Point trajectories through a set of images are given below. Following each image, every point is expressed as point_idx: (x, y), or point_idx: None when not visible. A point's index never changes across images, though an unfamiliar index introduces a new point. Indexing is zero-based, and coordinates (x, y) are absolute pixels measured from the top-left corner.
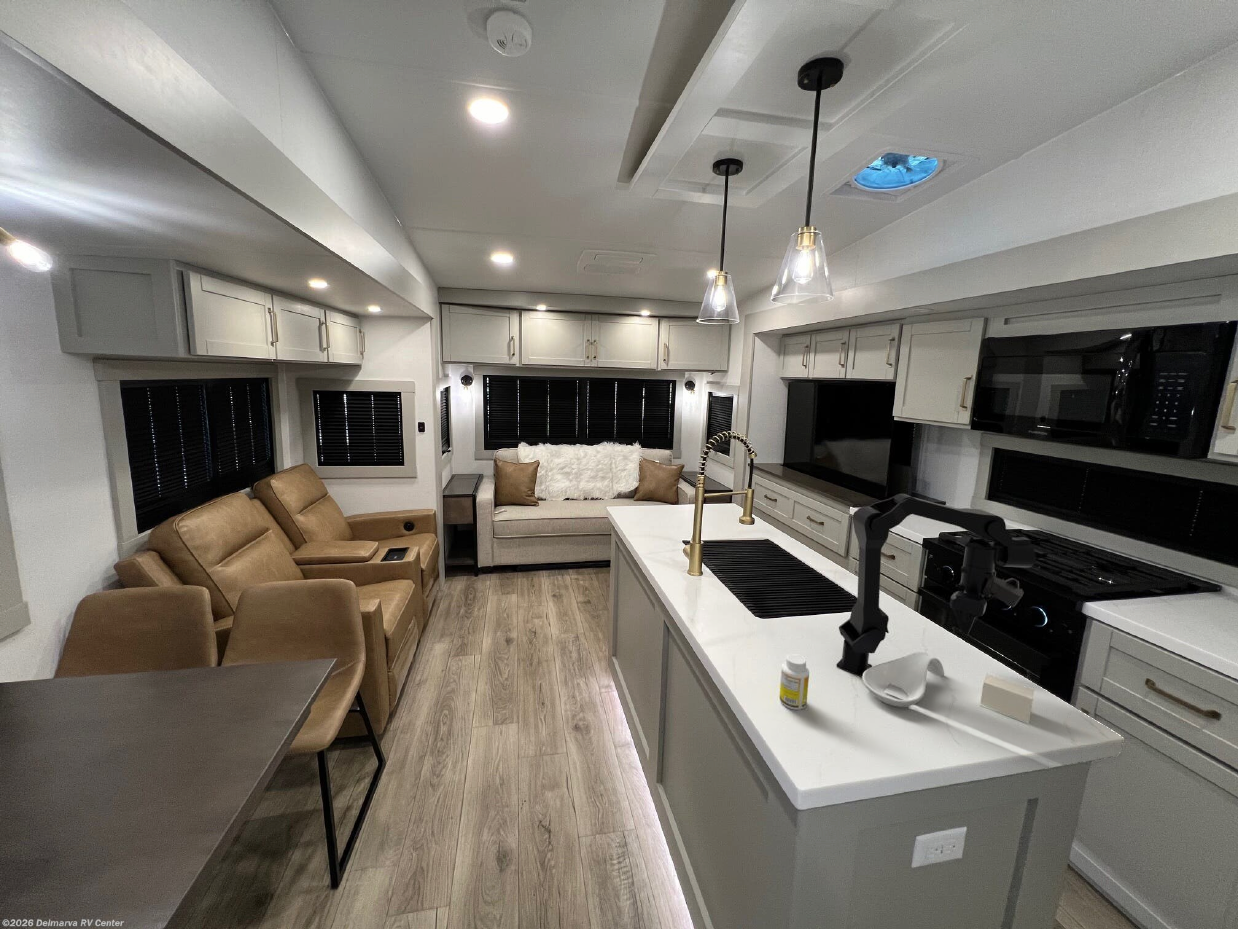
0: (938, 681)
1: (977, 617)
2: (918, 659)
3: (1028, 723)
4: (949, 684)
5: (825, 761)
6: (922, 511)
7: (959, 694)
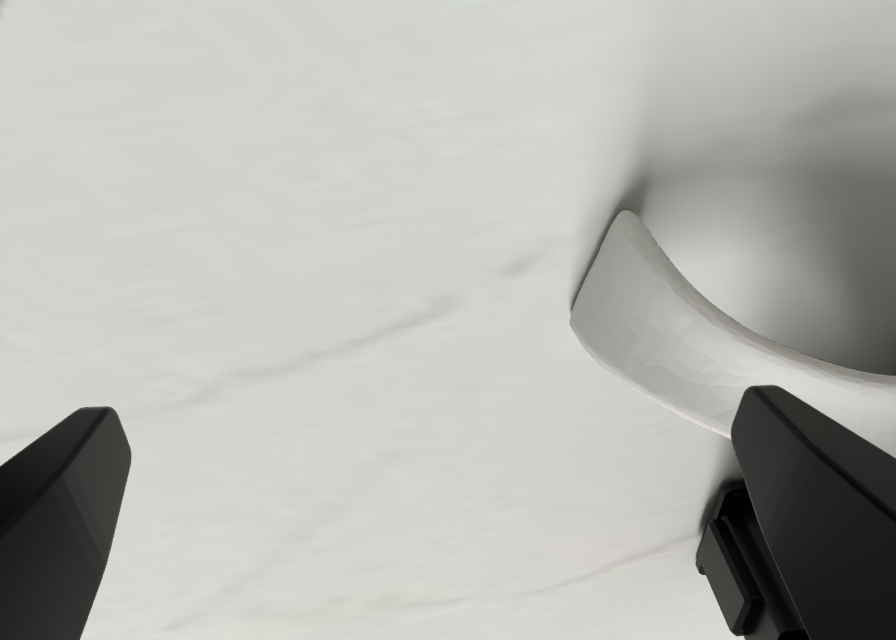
0: (659, 227)
1: (63, 462)
2: (894, 432)
3: None
4: (655, 167)
5: None
6: None
7: (765, 87)
